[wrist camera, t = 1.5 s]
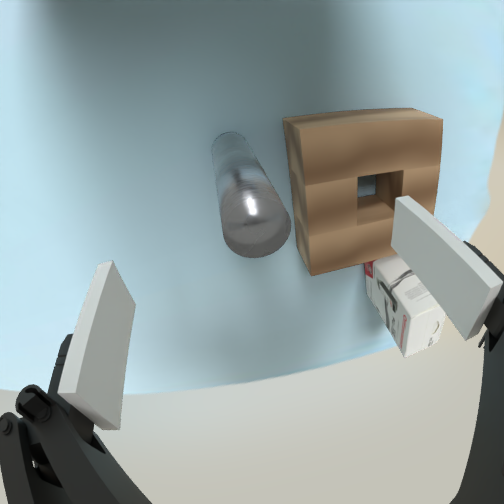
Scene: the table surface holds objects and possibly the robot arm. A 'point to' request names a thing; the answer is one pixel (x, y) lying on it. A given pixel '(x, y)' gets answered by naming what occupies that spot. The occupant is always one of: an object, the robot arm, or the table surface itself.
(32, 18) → the table surface
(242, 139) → the peg
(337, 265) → the socket block
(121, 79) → the table surface
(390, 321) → the ink box
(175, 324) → the table surface
